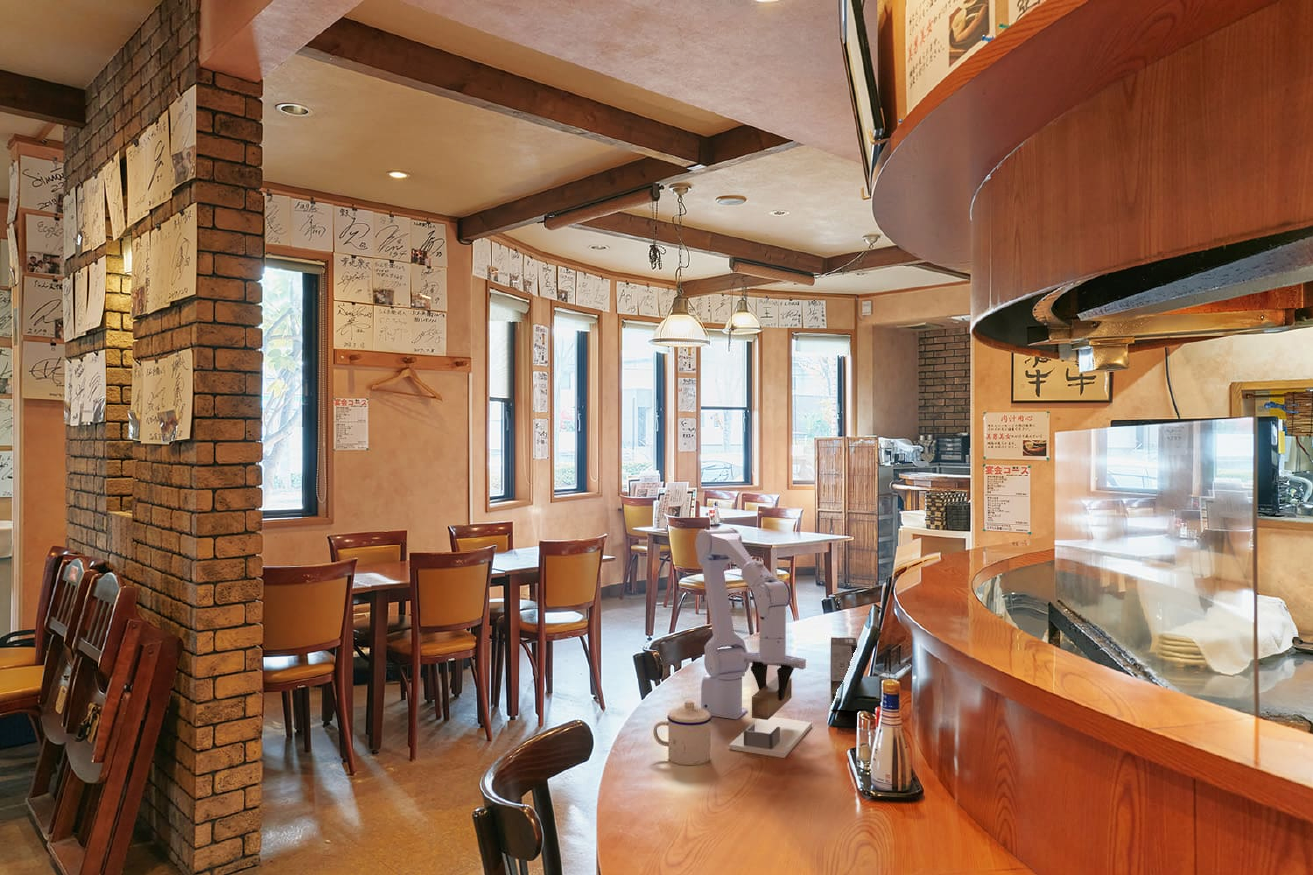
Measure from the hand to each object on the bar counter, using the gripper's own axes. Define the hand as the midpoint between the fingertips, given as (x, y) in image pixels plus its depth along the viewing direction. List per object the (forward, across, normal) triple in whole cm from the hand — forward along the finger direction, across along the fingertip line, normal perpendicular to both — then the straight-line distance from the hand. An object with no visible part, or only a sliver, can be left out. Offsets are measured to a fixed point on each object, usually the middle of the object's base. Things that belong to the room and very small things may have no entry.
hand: (772, 698), depth 194 cm
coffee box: (+9, +9, +30) cm, 33 cm away
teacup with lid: (+9, -13, -20) cm, 25 cm away
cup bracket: (+9, 0, 0) cm, 9 cm away
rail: (+2, 0, 0) cm, 2 cm away
